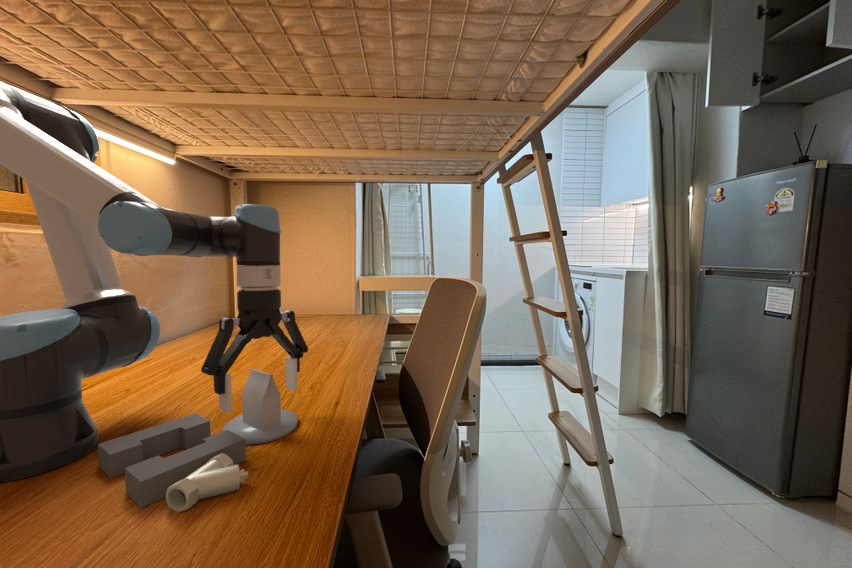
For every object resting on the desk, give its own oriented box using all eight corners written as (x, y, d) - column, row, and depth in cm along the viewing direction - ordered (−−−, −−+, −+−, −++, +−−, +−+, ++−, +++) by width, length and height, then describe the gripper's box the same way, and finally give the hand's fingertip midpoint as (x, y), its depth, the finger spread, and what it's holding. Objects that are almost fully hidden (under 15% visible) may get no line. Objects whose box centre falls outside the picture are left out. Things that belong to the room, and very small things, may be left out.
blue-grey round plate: (209, 431, 68) (209, 426, 68) (272, 408, 79) (272, 404, 79) (247, 452, 61) (247, 446, 61) (311, 424, 72) (311, 419, 72)
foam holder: (98, 465, 57) (97, 444, 56) (195, 431, 68) (195, 413, 68) (141, 507, 47) (140, 481, 47) (245, 459, 59) (245, 438, 59)
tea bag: (262, 431, 67) (261, 377, 66) (242, 421, 70) (241, 371, 70) (280, 424, 70) (280, 372, 69) (260, 415, 73) (259, 366, 73)
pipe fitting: (252, 484, 53) (213, 475, 55) (254, 458, 53) (214, 450, 54) (210, 522, 46) (165, 510, 47) (211, 492, 45) (166, 481, 47)
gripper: (197, 294, 56) (201, 428, 57) (324, 286, 77) (325, 384, 78) (176, 291, 60) (179, 416, 62) (302, 284, 81) (303, 378, 82)
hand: (261, 399), depth 70 cm, fingers open, 13 cm apart
